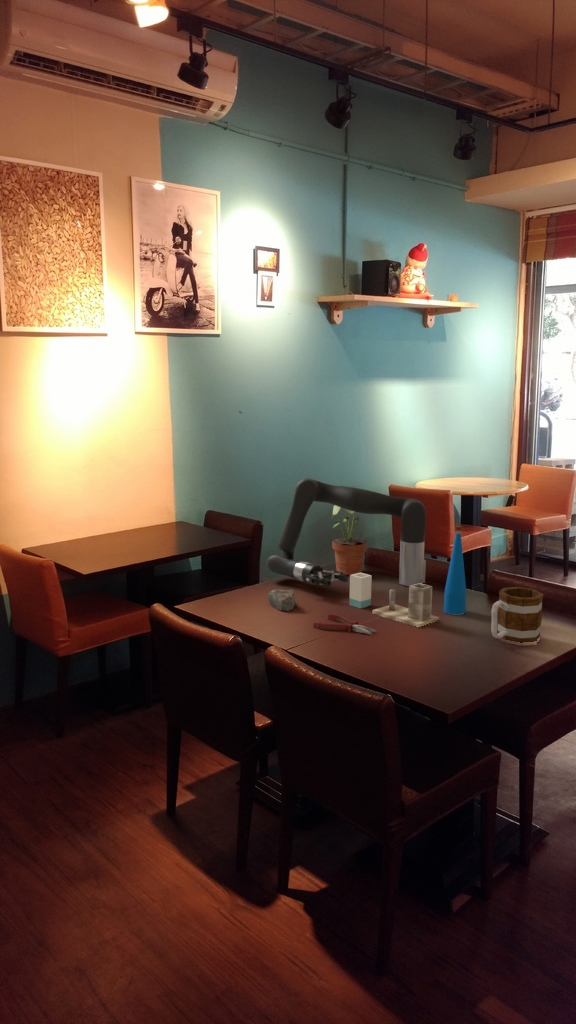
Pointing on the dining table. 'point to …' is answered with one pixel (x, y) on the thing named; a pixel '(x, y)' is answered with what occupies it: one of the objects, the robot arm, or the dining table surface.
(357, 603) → the sleeve
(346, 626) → the pliers
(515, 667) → the dining table surface
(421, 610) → the peg socket fixture
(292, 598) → the rock
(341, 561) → the potted plant
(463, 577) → the bottle
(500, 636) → the mug
